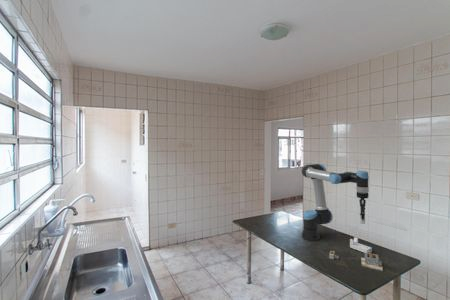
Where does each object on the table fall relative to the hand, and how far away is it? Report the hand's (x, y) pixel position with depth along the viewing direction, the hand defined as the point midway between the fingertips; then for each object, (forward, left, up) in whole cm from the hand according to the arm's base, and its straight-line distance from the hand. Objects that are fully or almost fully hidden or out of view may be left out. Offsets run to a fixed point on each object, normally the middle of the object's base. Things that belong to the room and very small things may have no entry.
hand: (362, 220), depth 174 cm
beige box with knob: (+11, -20, -27) cm, 35 cm away
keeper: (+11, +5, -27) cm, 29 cm away
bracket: (-10, -1, -27) cm, 29 cm away
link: (+11, +5, -26) cm, 28 cm away
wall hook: (+11, -17, -27) cm, 33 cm away
